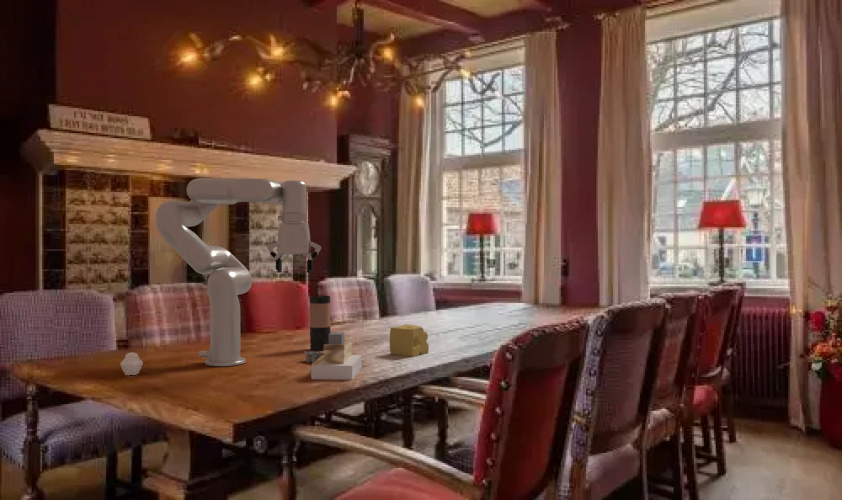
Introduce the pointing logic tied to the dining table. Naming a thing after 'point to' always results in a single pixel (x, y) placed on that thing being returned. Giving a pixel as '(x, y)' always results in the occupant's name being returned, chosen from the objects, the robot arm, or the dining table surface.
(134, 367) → the grey faceted stone
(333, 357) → the wooden block
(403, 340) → the cheese
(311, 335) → the travel mug
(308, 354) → the egg carton
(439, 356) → the dining table surface
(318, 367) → the block
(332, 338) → the blue-grey cube
